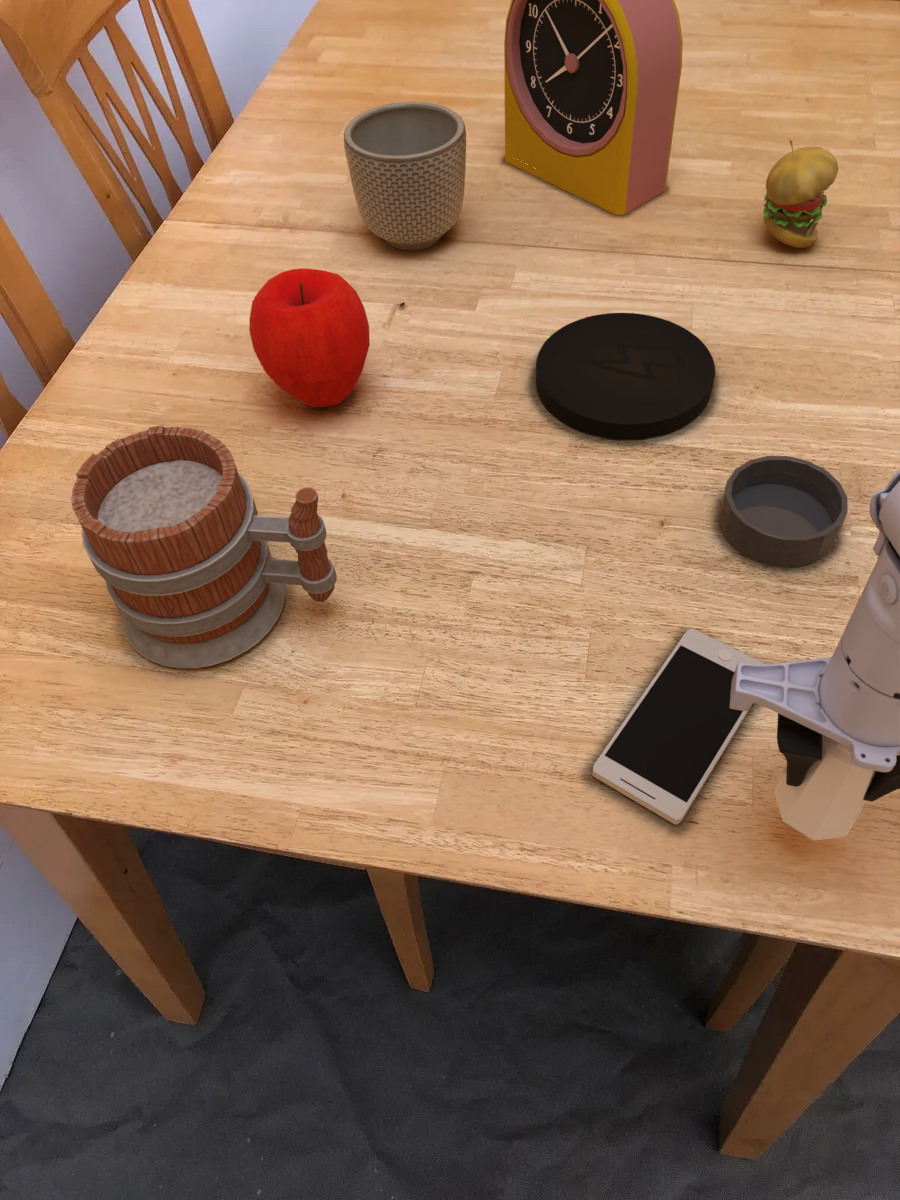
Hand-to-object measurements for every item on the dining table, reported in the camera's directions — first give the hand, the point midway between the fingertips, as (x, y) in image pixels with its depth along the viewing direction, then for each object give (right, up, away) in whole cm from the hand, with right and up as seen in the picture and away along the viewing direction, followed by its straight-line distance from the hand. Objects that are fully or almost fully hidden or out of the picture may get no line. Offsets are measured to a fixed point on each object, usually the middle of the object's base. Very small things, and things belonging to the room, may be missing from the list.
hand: (829, 778), depth 57 cm
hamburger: (+16, +53, +52) cm, 76 cm away
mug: (-42, +10, +22) cm, 48 cm away
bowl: (+5, +18, +24) cm, 31 cm away
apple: (-37, +32, +39) cm, 62 cm away
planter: (-28, +56, +57) cm, 85 cm away
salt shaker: (0, -2, +3) cm, 4 cm away
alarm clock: (-6, +67, +64) cm, 93 cm away
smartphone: (-6, +2, +13) cm, 14 cm away
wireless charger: (-6, +33, +38) cm, 51 cm away
